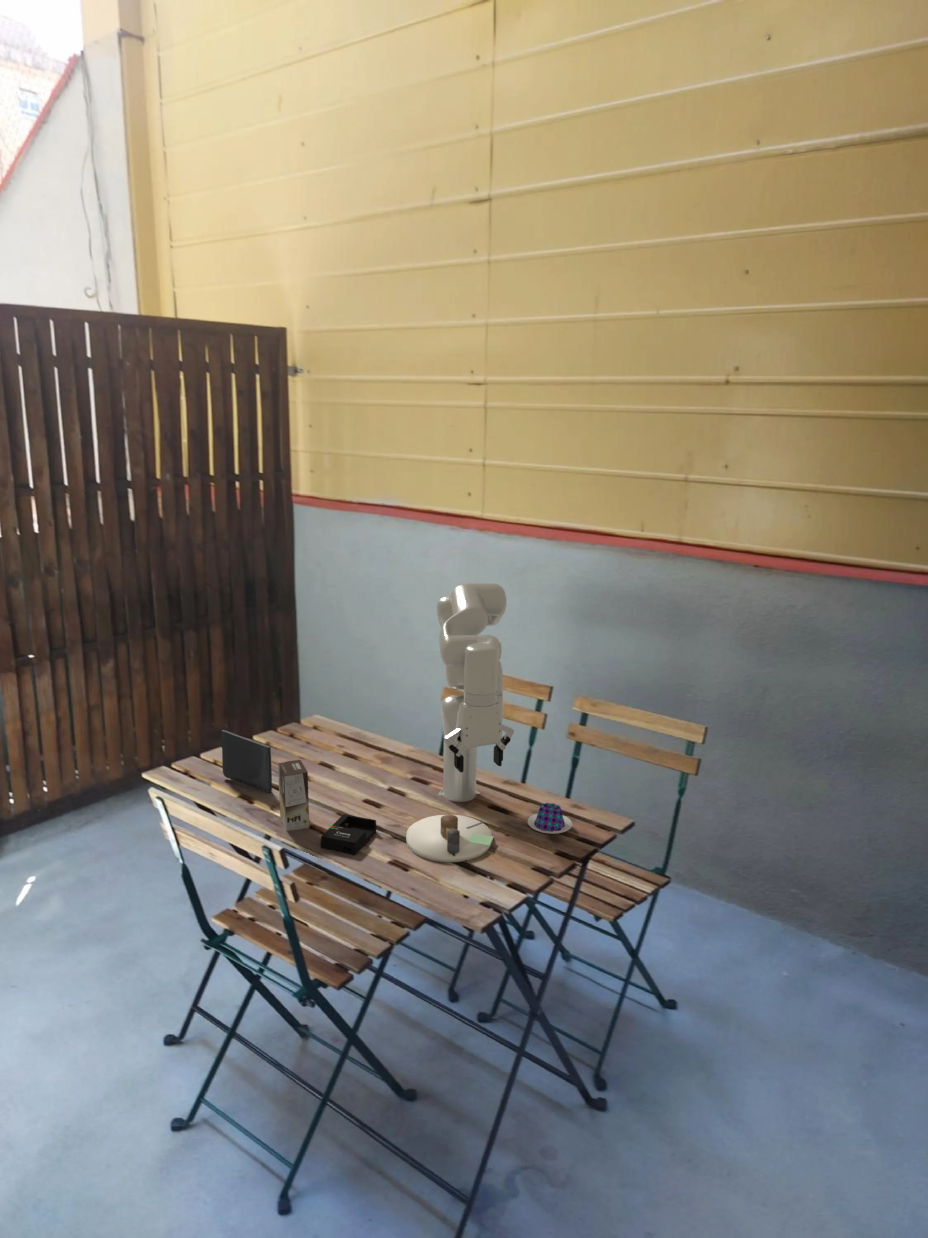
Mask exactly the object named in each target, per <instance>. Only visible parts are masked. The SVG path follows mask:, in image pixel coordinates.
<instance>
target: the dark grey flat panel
mask: <svg viewBox="0 0 928 1238" xmlns="http://www.w3.org/2000/svg"><path fill="white" fill-rule="evenodd" d="M271 748H272V747H271V746H270V745H267V744H263V743H261V742H258V741H255V740H253V739H250V738H248V737H244V736H241V735H239V734H236V733H233V732H232V731H231V732H230V731H229V730H226V729H222V730H221V751H222V753H221V755H222V756H221V757H222V760H221V761H222V773H223V777H225V778H227V779H229V778H230V779H229V780H232V779H233V781H235V780H236V781H235V782H239V783H241V784H243V783H244V784H243V785H247V786H249V787H252V788H254V789H257V790H259V791H263V792H265V793H266V794H267V793H268V794H272V792H273V776H272V771H273V770H272V754H271V753H272V751H271V750H272V749H271Z"/></svg>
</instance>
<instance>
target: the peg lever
mask: <svg viewBox="0 0 928 1238" xmlns="http://www.w3.org/2000/svg"><path fill="white" fill-rule="evenodd" d="M443 815H444V816H442V817H441V835H442V836H445V837H447V851H448V852H449V853H458V852H459V841H460V831H459V830H458V818H457V817H456V816H454V815H455V814H443Z"/></svg>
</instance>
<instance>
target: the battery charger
mask: <svg viewBox="0 0 928 1238" xmlns="http://www.w3.org/2000/svg"><path fill="white" fill-rule="evenodd" d="M377 827H378V826H377V820H376V819H371V818H366V817H362V816H356V815H350V814H346V813H345V814H344V813H343V814H342V815H341V816H340V817H339V818H338V819H337V820H336V821H335V822H333V824H332V825H331V826H330V827H329V828H328V829H326V831H325V832H324V833H323V834H322V835H321V836H320V849H323V850H329V851H333V852H339V853H342V854H348V855H352V856H356V855H357V854H358V853H359V851H361V850H362V849H363V848H364V847H365V845H366V844H367V843H368V842H369V841H370V840H372V838H373V837H374V835H375V834H376V833H377Z"/></svg>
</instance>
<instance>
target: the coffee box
mask: <svg viewBox="0 0 928 1238" xmlns="http://www.w3.org/2000/svg"><path fill="white" fill-rule="evenodd" d="M277 766H278V768H277V770H278V791H279V795H278V796H279V813H280V814H279V816H280V820H281V823H282V825H283V827H284V828H285V829H284V830H285V831H286V832H290V831H297V830H303V829H308V828H310V809H309V806H310V804H309V802H310V801H309V775H308V774H309V773H308V770H307V768H306V766H305V765H304V764H303V762H302V760H301V759H295V760H288V761H285V762H284V761H283V762H278V763H277Z"/></svg>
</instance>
